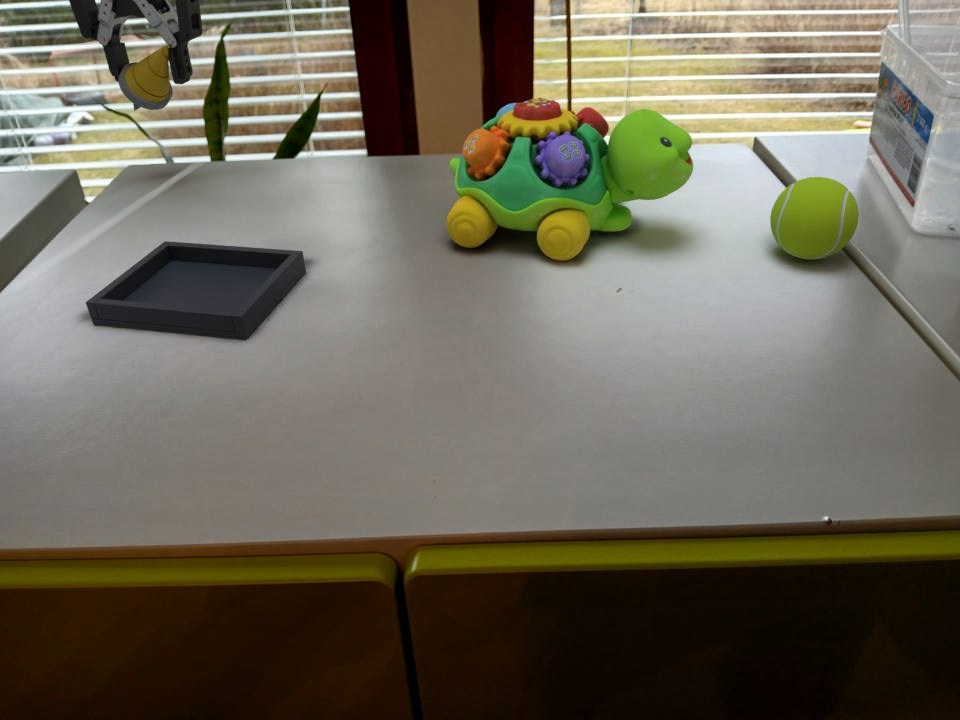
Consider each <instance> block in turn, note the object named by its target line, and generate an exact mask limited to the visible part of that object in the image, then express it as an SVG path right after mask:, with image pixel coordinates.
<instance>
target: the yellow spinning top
mask: <svg viewBox="0 0 960 720" xmlns="http://www.w3.org/2000/svg"><path fill="white" fill-rule="evenodd" d="M168 47H169V46H168V45H167V44H166V45H163V46H162V47H160V48H159V49H157V50H155V51H154V52H152V53H150V54H149V55H146V56H145V57H144V58H142V59H141V60H139V61H133V62H129V64H127V65H126V66H124V68H123V69H122V71H121V73H120V75H119V82H118V86H119V89H120V91H121V92H122V94H123V95H124V96H125V97H126V99H127V100H128V101H130V102H131V103H132V105H133V112H136V111H138V110H139V109H141V108H142V109H145V110H151V111H158V110H162V109H164V108H166V106H168V104H169V103H170V101H171V99H172V97H173V94H174V93H173V87H172V84H171V82H170V64H169V59H168Z"/></svg>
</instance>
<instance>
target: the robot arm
mask: <svg viewBox="0 0 960 720" xmlns="http://www.w3.org/2000/svg"><path fill="white" fill-rule="evenodd" d="M174 1H175V8H174V7H173V5H172V3H171V2H170V0H100V3H99V7H98V5H97V2H96V0H68V3H69V5H70V8H71V10H72V13H73V15H74V18H75V21H76V23H77V27H78V29H79V32H80V34H81V36H82V37H83V38H84V39H86V40H89V39H92V40H94V41H97V42H98V43H99V45H101V46H102V48H103V53H104V54H105V55H104V56H105V59H106V63H107V68H108V70H109V71H108V72H109V74H110V75H111V76H112V77H114V80H115V82H117V83H119V75H120V73H121V71H122V69H123V68H124V66H126V65H127V64H129V63H130V58H129V54H128V51H127V47H126V43H125V42H123V41H122V36H123V32H124V31H123V30H124V27H125V23H126V22H127V20H128V19H129V17H130V16H133V17H136V18H143V19H146V21H147V23H148V24H149V25H150V26H151V27H152V28H153V29H155V30H156V31H157V32H158V33H159V35H160V36H161V38H162V40H163V41H164V42H165V44H166V45H168V60H169V69H170V72H171V77H172V81H173V83H174V84H175V85H184V84H186V83H188V82H190V80H191V77H192V76H193V72H194V70H193V66H192V60H191V56H190V52H189V47H188V46H189V43H190V42H191V41H192V40H195V39H197V38H199V37H201V36H202V35H203V32H204V31H203V24H202V22H203V21H202V15H201V14H202V13H201V4H200V0H174ZM159 12H161V13H159Z"/></svg>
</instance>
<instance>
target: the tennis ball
mask: <svg viewBox="0 0 960 720" xmlns="http://www.w3.org/2000/svg"><path fill="white" fill-rule="evenodd" d="M858 222H859V207H858V203H857V200H856V199H855V196H854V194H853V193H852V191H850V190H849V188H848V187H846V186H845V184H843V183H841V182H839V181H838V180H835V179H832V178H829V177H824V176H811V177H810V176H809V177H805V178H801V179H798V180H796V181H795V182H793V183H791V184H789V185H788V186H787V187H786V188H785V189H784V190H782V192H781V193H780V194H779V195H778V196H777V198H776V200H775V201H774V204H773V205H772V209H771V213H770V222H769V223H770V230H771V234H772V236H773V238H774V241H775V242H776V243H777V245H778V246H779V247H780V248H781V249H782V250H783V251H784V252H785V253H787V254H788V255H790V256H793V257H795V258H798V259H802V260H808V261H809V260H810V261H811V260H812V261H814V260H821V259H825V258H829V257H831V256H833V255H834V254H836V253H838V252H840V251H841V250H842V249H844V247H846V246H847V244H849V243H850V241H851V240H852V238H853V237H854V235H855V233H856V230H857V227H858V224H859V223H858Z"/></svg>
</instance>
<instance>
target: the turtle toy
mask: <svg viewBox="0 0 960 720" xmlns="http://www.w3.org/2000/svg"><path fill="white" fill-rule="evenodd" d="M609 127H610V126H609V123H608V122H607V119H605V117H604V116H603V115H602V114H601V113H600V112H598V110H596V109H595V108H592V107H589V106H588V107H587V106H586V107H584V108H582V109H581V110H579V111H578V112H577V113H576V112H575V111H574V110H570V111H569V110H568V109H564V108H562V107H561V105H560V103H559V102H558V101H555V99H552V100H551V99H547V98H542V97H538V98H531V99H528V100H525V101H522V102H512V103H508V104H506V105H505V106H503V107H501V108H500V109H499V110H498V111H497V113H496V115H495V117H494V118H492V119H489V120H488V121H486V123H484V124H482V126H481V127H480V128H477V129H474V130H473V131H472V132H471V133H470V134H469V135H468V136H467V137H466V138H465V141H464V143H463V145H462V153H461V156H460V158H459V157H453V158H452V159H450V161H449V169H450V171H451V173H452V174H453V175H454V188H455V191H456V195H457V196H458V199H457V200H456V202H454V204H453V206H452V208H451V209H450V211H449V212H448V214H447V216H446V219H445V220H446V222H445V227H446V230H447V234H448V235H449V237H450V239H451V240H452V241H453V242H454V243H455V244H457V245H459V246H460V247H464V248H468V249H473V248H477V247H479V246H481V245H483V244H484V243H485V242H486V241H487V240H489V239H490V238H492V236H493V235H494V234H495V233H496V231H497V229H498V227H502V228H505V229H508V230H509V229H510V230H516V231H522V232H523V231H524V232H536V241H537V245H538V247H539V249H540V251H541V252H542V253H543V254H544V255H545V256H546V257H548V258H550V259H552V260H555V261H560V262H561V261H563V262H564V261H569V260H571V259H574V258H575V257H576V256H578V255H579V253H580V252H581V251H582V250H583V248H584V246H585V245H586V243H587V242H588V240H589V238H590V234H591V231H600V232H620V231H625V230H627V229H628V228H629V227H630V226H631V225H632V223H633V221H632V220H633V219H632V218H633V217H632V211H631V209H630V208H629V207H628V206H625V205H623V204H620V203H626V202H631V201H637V200H641V201H655V200H660V199H662V198H665V197H667V196H669V195H671V194H673V193H675V192H677V191H679V189H681V188H682V187H683V186H685V185H686V183H687V182H688V181H689V180H690V178H691V176H692V174H693V171H694V161H693V158H692V156H691V154H690V152H689V150H690V149H691V148H692V146H693V139H692V137H691V134H690V133H689V132H687V130H685V129H683V128H682V127H679V126H678V125H677V124H675V123H673V122H671V121H670V120H668V119H667V118H666V117H665V116H663V115H662V114H661V113H658V112H657V111H655V110H652V109H648V108H647V109H646V108H641V109H638V110H635V111H632V112H630V113H627V114H626V115H624V117H622V118H621V119H620V120H619V122H618V123H617V124H616V125H615V126H614V127H613V129H612V131H611V133H610V136H609V140H608V142H607V141H606V140H605V138H606V136H607V134H608V133H609V130H610V128H609Z"/></svg>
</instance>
